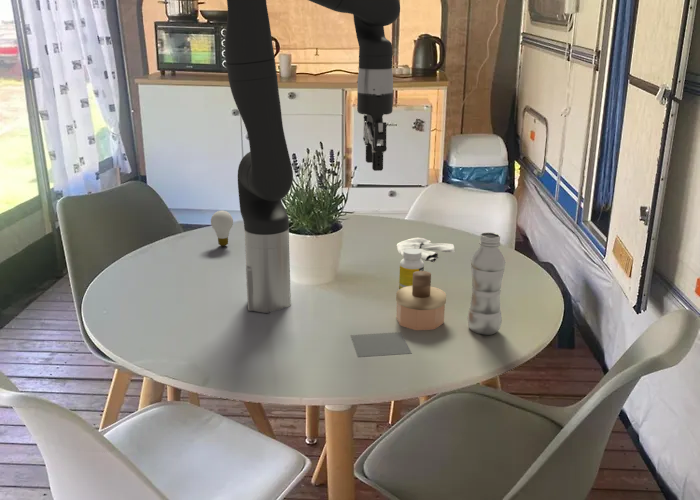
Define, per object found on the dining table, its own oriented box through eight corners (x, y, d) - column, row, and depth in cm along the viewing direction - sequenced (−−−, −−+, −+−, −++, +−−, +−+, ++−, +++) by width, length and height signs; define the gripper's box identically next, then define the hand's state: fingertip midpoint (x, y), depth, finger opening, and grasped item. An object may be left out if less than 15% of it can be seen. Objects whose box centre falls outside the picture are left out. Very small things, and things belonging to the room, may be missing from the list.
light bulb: (232, 250, 182) (230, 213, 179) (210, 249, 182) (208, 213, 179) (236, 243, 188) (234, 208, 185) (214, 243, 188) (212, 207, 185)
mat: (357, 359, 123) (357, 356, 123) (350, 338, 132) (350, 335, 132) (411, 356, 125) (411, 353, 125) (401, 334, 133) (401, 332, 133)
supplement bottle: (421, 297, 151) (423, 255, 148) (397, 295, 152) (398, 254, 149) (423, 288, 156) (425, 248, 153) (400, 286, 157) (401, 246, 154)
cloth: (412, 237, 195) (412, 229, 195) (482, 252, 183) (482, 243, 182) (372, 256, 180) (372, 247, 179) (445, 273, 168) (446, 264, 167)
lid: (402, 311, 132) (402, 284, 130) (391, 291, 141) (392, 266, 139) (452, 308, 133) (453, 281, 131) (438, 289, 142) (439, 264, 141)
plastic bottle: (493, 341, 131) (501, 242, 124) (461, 333, 134) (467, 236, 128) (505, 329, 136) (513, 233, 129) (473, 321, 139) (480, 228, 133)
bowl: (403, 333, 134) (403, 310, 132) (393, 315, 142) (394, 292, 141) (447, 330, 135) (448, 307, 133) (435, 312, 143) (436, 290, 142)
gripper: (352, 87, 150) (352, 160, 155) (363, 94, 137) (362, 173, 142) (386, 87, 151) (384, 159, 156) (399, 93, 138) (397, 172, 143)
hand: (374, 166), depth 149 cm, fingers open, 8 cm apart
